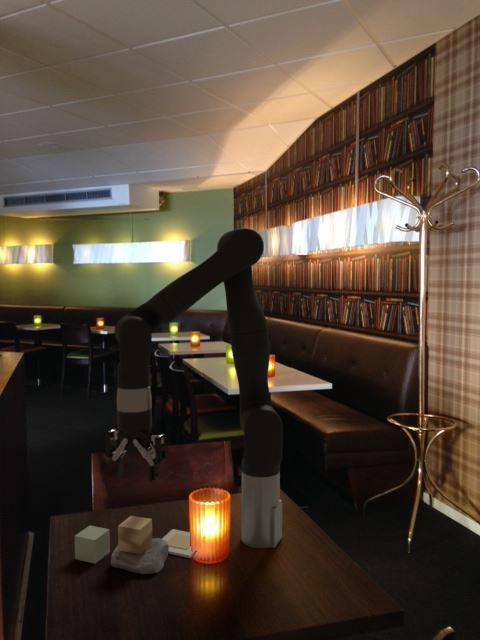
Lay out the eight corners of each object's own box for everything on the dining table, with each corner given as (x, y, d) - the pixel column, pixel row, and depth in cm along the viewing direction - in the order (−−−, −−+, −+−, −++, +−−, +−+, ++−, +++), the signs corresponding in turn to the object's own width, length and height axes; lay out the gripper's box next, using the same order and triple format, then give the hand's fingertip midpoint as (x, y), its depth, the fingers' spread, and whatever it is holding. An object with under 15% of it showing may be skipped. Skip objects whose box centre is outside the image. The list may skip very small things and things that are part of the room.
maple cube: (152, 542, 120) (152, 519, 119) (140, 554, 114) (140, 529, 114) (131, 538, 121) (130, 515, 121) (118, 550, 116) (117, 526, 116)
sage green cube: (109, 552, 122) (109, 529, 122) (95, 564, 117) (94, 540, 117) (90, 547, 124) (90, 525, 124) (75, 559, 119) (74, 535, 119)
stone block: (159, 583, 113) (171, 551, 123) (157, 565, 112) (169, 534, 121) (106, 581, 115) (122, 550, 124) (104, 563, 113) (119, 532, 123)
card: (208, 538, 129) (208, 535, 129) (190, 558, 120) (190, 554, 120) (172, 531, 133) (172, 528, 132) (152, 550, 123) (152, 546, 123)
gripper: (171, 405, 117) (172, 476, 118) (116, 400, 122) (118, 469, 123) (153, 413, 110) (155, 489, 111) (96, 408, 115) (98, 480, 116)
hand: (136, 478), depth 117 cm, fingers open, 8 cm apart
